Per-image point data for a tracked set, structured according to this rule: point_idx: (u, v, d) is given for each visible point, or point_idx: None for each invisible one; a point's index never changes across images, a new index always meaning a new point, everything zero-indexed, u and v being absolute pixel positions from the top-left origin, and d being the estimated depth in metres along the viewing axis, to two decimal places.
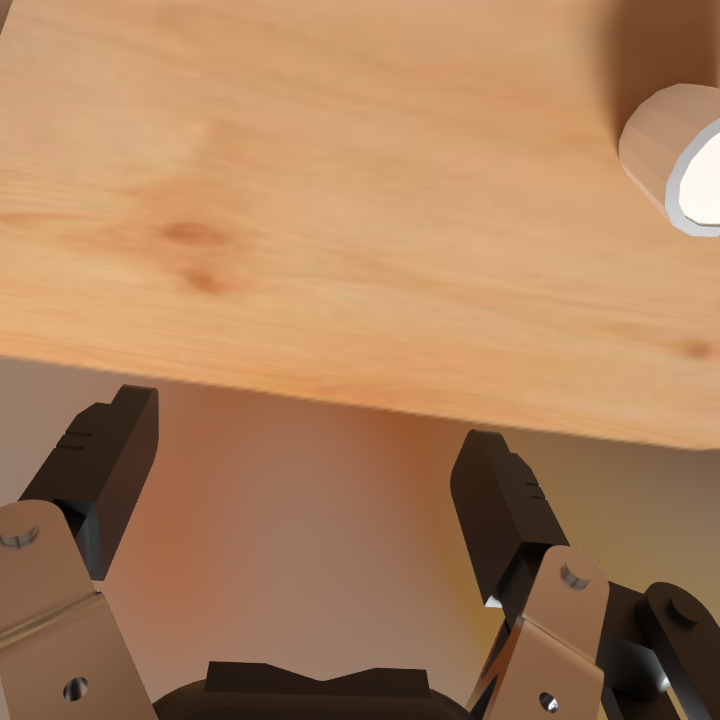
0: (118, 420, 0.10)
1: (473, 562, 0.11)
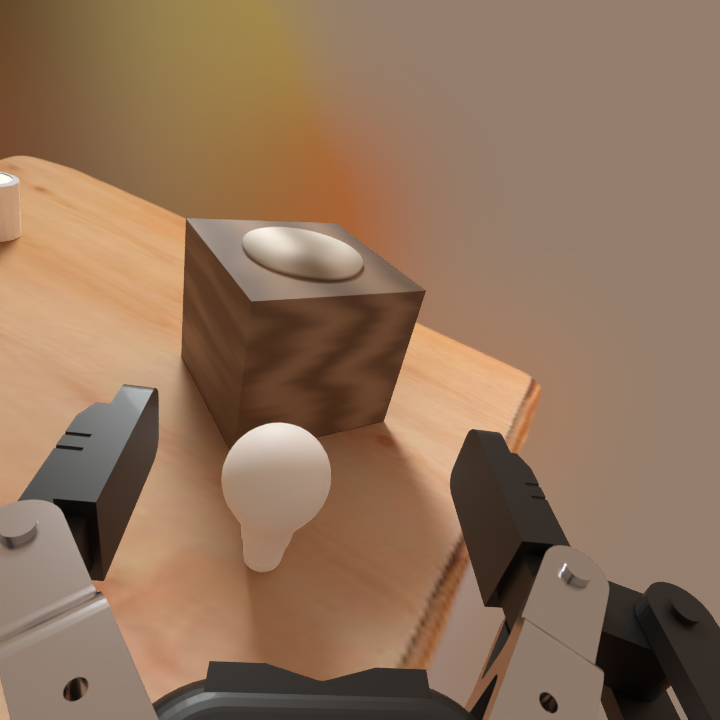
0: (118, 420, 0.10)
1: (473, 563, 0.11)
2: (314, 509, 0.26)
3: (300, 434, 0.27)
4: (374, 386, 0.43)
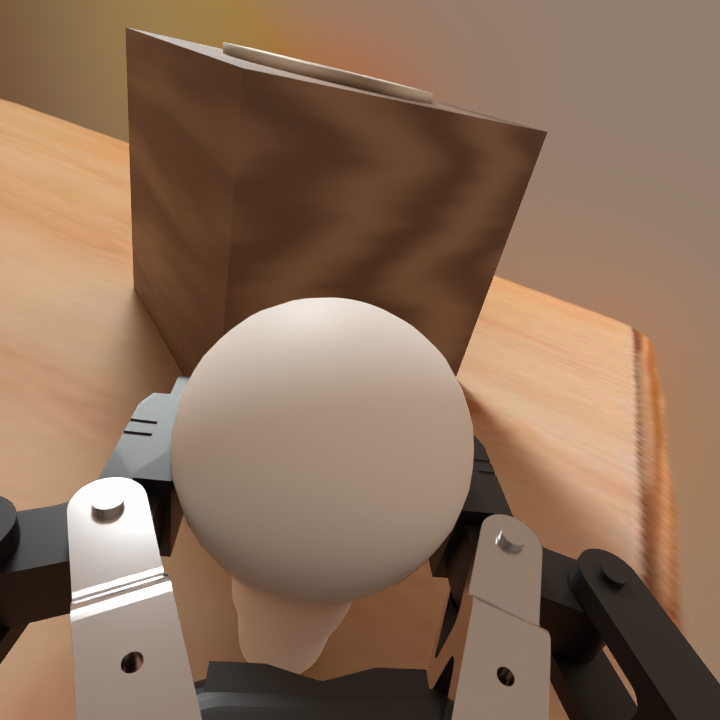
0: None
1: None
2: (448, 527, 0.09)
3: (392, 315, 0.09)
4: (449, 312, 0.26)
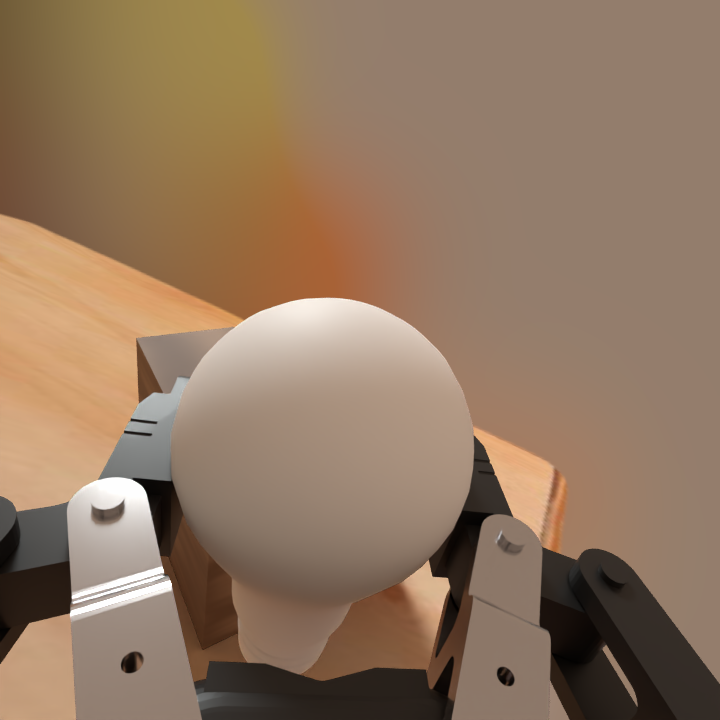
0: None
1: None
2: (448, 529, 0.09)
3: (392, 316, 0.09)
4: None
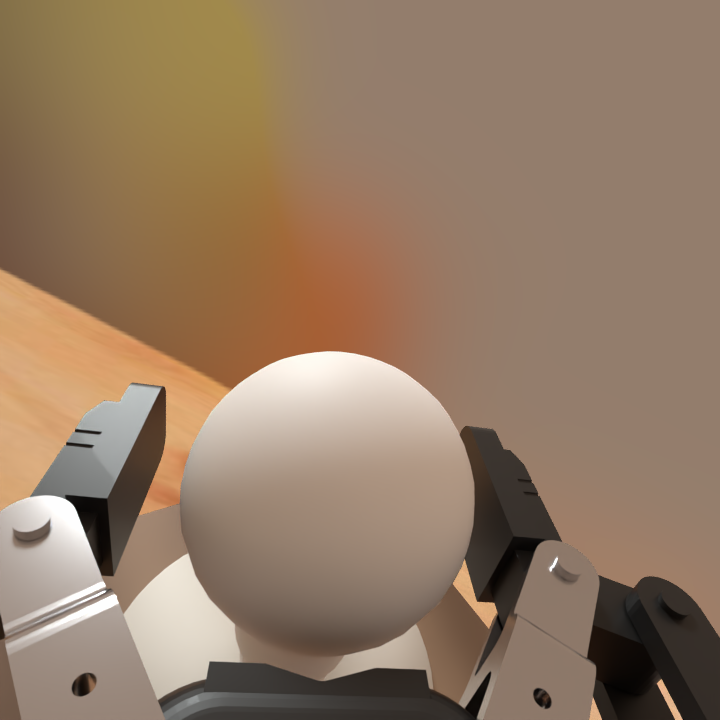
0: (127, 418, 0.10)
1: (466, 558, 0.11)
2: (449, 584, 0.09)
3: (397, 373, 0.10)
4: None
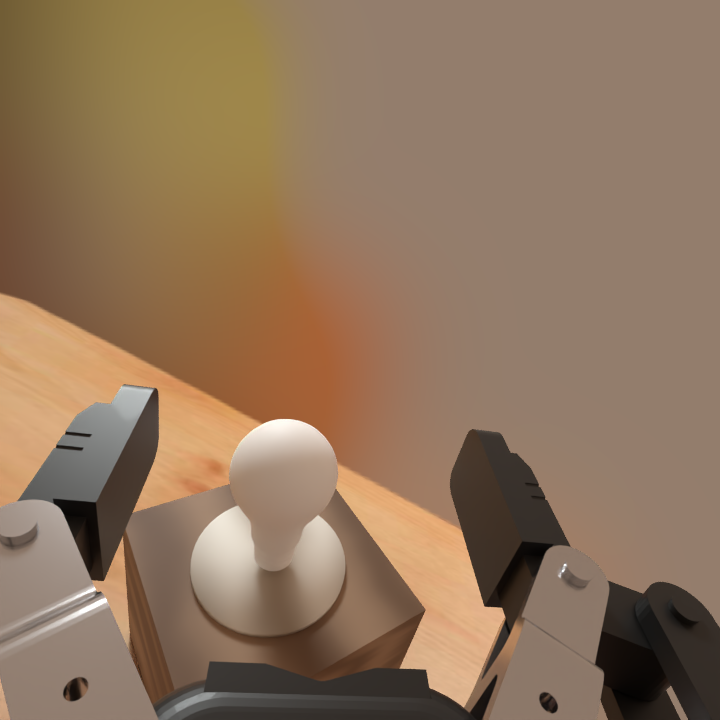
0: (118, 420, 0.10)
1: (473, 562, 0.11)
2: (323, 501, 0.26)
3: (305, 428, 0.27)
4: None
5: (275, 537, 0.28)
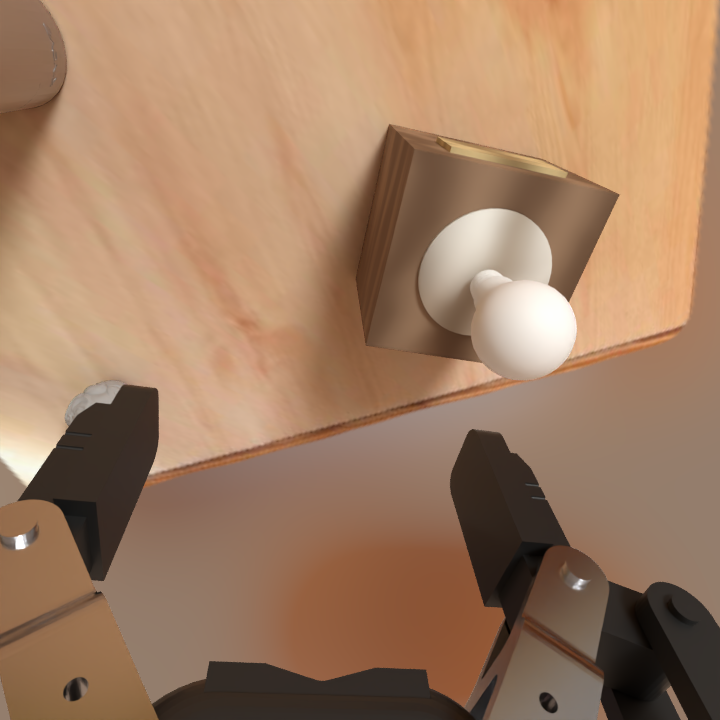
0: (118, 420, 0.10)
1: (473, 563, 0.11)
2: None
3: (558, 355, 0.27)
4: None
5: None
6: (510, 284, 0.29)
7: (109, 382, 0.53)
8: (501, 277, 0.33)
